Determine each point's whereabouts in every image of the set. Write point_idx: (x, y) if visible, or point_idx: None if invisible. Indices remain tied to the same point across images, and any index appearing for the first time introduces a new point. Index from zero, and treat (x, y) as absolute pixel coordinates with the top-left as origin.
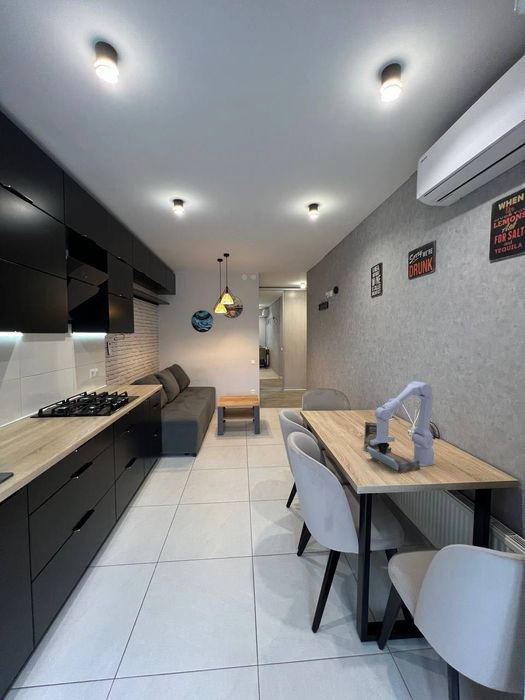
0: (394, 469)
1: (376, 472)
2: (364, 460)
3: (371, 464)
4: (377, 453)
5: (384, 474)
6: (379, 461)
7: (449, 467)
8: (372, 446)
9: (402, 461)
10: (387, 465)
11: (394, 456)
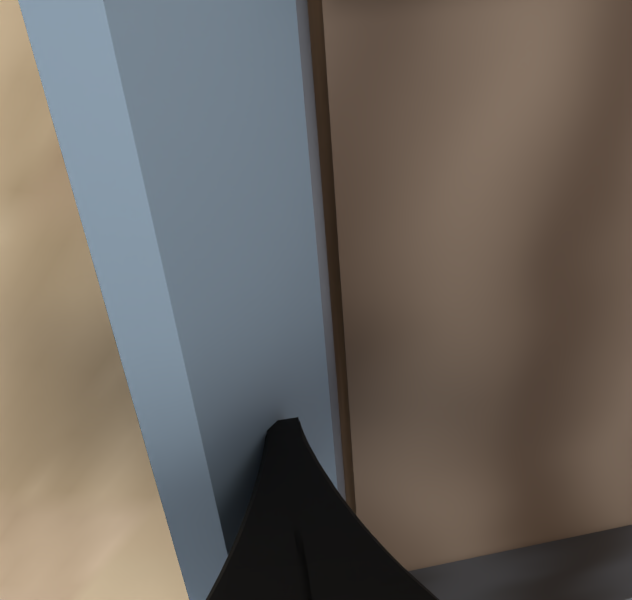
0: (347, 489)
1: (17, 519)
2: (17, 23)
3: (85, 256)
4: (163, 479)
5: (111, 568)
6: (324, 190)
7: None
8: None
9: (630, 398)
10: (338, 378)
11: None
